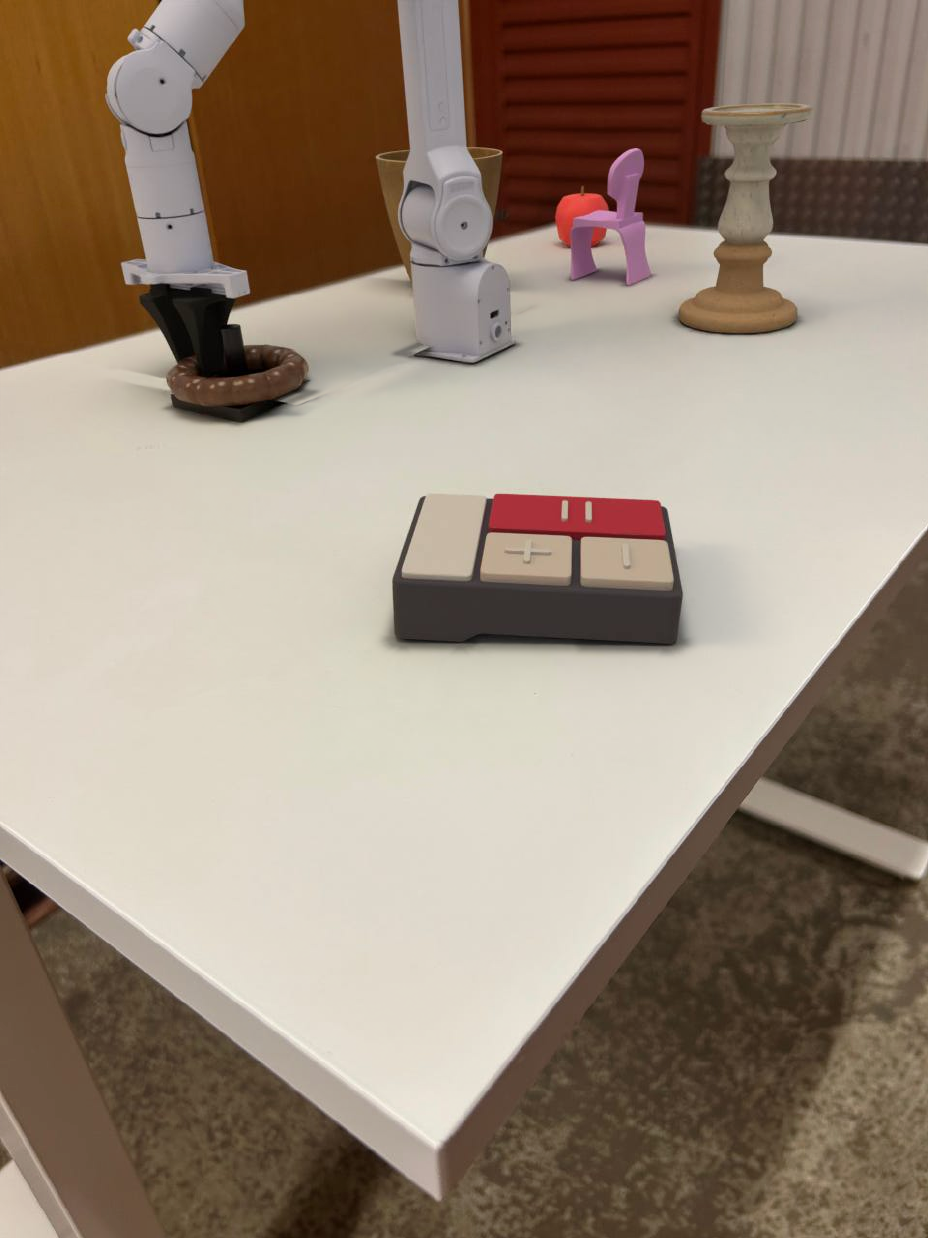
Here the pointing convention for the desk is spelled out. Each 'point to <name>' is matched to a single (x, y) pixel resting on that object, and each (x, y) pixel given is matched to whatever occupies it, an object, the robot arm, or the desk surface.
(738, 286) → the candle holder
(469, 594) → the calculator
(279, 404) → the peg stand
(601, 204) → the apple
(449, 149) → the robot arm
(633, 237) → the toy chair
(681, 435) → the desk surface
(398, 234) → the plant pot
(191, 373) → the ring
